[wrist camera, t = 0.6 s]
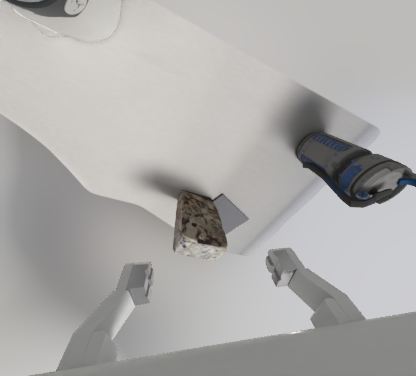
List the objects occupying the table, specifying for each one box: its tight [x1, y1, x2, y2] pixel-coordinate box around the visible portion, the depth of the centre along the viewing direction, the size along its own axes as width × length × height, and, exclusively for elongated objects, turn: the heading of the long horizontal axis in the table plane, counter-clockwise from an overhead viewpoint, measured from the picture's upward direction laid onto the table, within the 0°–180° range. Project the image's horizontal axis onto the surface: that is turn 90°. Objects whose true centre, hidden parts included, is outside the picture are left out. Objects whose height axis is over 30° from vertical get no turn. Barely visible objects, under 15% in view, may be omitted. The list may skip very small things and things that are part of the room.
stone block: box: [173, 191, 228, 260], centre depth 47 cm, size 13×7×20 cm, turn 67°
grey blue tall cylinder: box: [297, 132, 416, 207], centre depth 41 cm, size 10×13×25 cm
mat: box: [213, 194, 249, 234], centre depth 63 cm, size 18×18×1 cm
